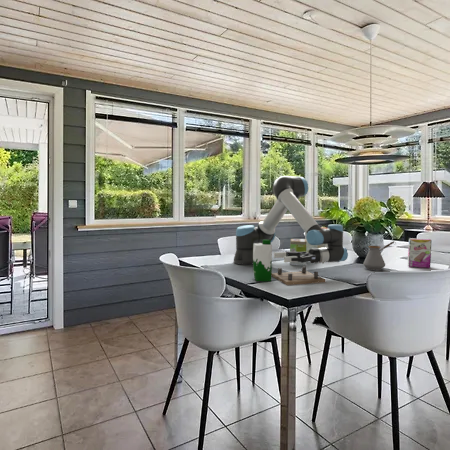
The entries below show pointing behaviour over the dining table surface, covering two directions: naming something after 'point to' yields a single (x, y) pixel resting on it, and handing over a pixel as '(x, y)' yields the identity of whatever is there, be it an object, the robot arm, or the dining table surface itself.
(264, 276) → the soya milk
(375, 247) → the coffee pot
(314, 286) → the dining table surface
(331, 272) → the dining table surface
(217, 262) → the dining table surface
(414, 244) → the candy bar box
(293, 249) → the tea box
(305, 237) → the cracker box
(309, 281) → the peg board
